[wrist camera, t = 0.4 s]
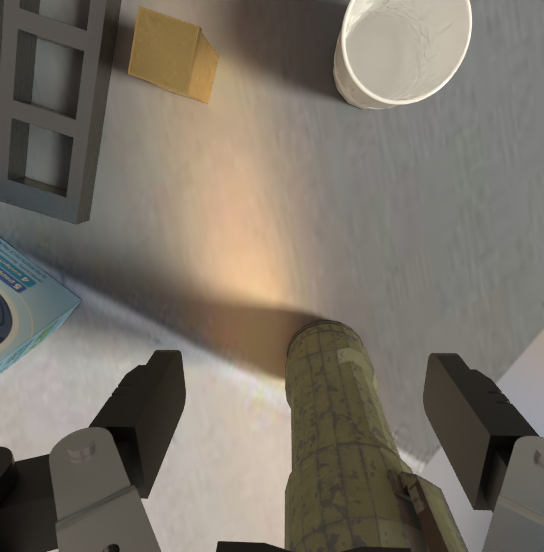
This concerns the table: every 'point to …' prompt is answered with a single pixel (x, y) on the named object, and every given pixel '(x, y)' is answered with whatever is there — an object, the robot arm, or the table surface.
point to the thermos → (351, 457)
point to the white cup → (399, 49)
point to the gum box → (28, 305)
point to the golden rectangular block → (172, 55)
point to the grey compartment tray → (20, 111)
